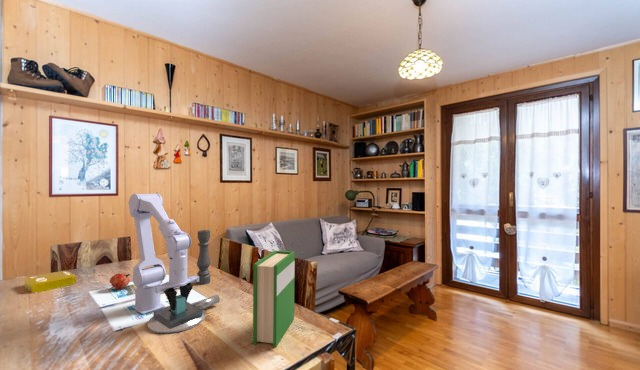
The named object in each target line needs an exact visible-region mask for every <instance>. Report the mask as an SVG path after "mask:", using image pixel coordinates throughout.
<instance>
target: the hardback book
mask: <svg viewBox="0 0 640 370" xmlns="http://www.w3.org/2000/svg"><path fill="white" fill-rule="evenodd" d="M295 253H296V251H285V250H274V251H272V252H271V253H269V254H267V255H266V256H264V257H262V258H261V259H259V260H258V261H256V262H255V263H253V268H252V269H253V274H252V275H253V284H252V286H253V287H252V289H253V293H252V299H253V300H252V345H255V346H256V345H257V344H258V343H259V342H261V343H267V344H273V345H272V347H273V348H277V347H278V346H279V344H280V342H281V341H282V339H283V338H284V336H285V335H286V333H287V331H289V328H290V326H291V325H292V323H293V322H294V320H295V274H296V273H295V270H296V269H295V267H296V266H295V265H296V264H295V263H296V261H295V256H296V255H295Z"/></svg>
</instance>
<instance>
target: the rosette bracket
mask: <svg viewBox="0 0 640 370" xmlns="http://www.w3.org/2000/svg"><path fill="white" fill-rule="evenodd" d="M220 300H221V299H220V296H219V295H218V294H216V295H212V296H209V297H207V298H204V299H201V300H198V301H194V302H193V303H192V302H191V303H190V302H188V301H186V311H184V312H182V313H179V314H176V315H175V314H173V313H171V308H170V305H167V306H165V307H163V308H160V309H157V310H154V311H152V312H153V313H152V315H153V316H152V317H150V318H149V320H148V322H147V329H148V330H149V331H150V332H152V333H154V334H160V335H167V334H168V335H169V334H176V333H180V332H181V333H182V332H185V331H187V330H190V329H193V328H195V327H196V326H199V325H200V324H202V323H203V321H204V320H205V319H206V316H207V315H206V314H207V313H206V310H205V308H207V307H210V306H214V305H216V304H218V303H220Z"/></svg>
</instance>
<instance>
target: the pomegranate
mask: <svg viewBox="0 0 640 370" xmlns="http://www.w3.org/2000/svg"><path fill="white" fill-rule="evenodd" d="M129 276H131V274H130V273H127V274H125V273H116V274H114V275H112V276H111V277H110V279H109V283H110V284H111V287H110V288H109V290H108V291H110V290H112V289H113V288H115V290H117V291H121V290H123V289H125V288H126V287H127V286H129V283H130V282H131V281H130V278H129Z"/></svg>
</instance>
